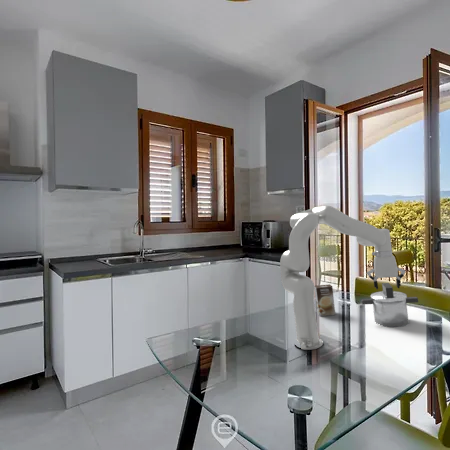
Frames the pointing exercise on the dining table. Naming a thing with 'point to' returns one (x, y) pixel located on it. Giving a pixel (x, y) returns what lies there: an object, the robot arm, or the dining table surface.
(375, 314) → the pot
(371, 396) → the dining table surface
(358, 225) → the robot arm
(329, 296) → the coffee box
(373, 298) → the lid
